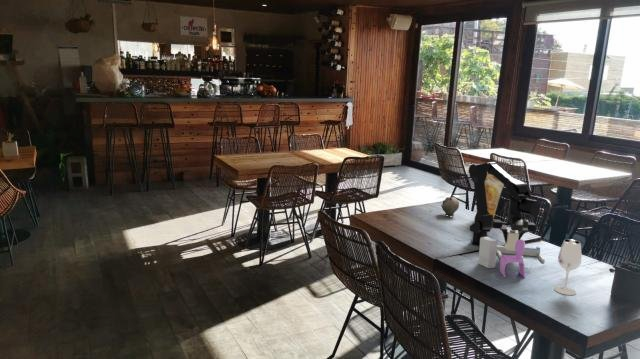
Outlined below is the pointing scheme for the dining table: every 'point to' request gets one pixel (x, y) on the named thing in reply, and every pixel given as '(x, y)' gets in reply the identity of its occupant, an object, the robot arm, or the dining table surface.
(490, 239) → the skincare box
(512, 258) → the toy chair
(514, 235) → the cream rectangular block
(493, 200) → the pancake mix bag
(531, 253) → the white post rack
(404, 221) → the dining table surface
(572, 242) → the wineglass
